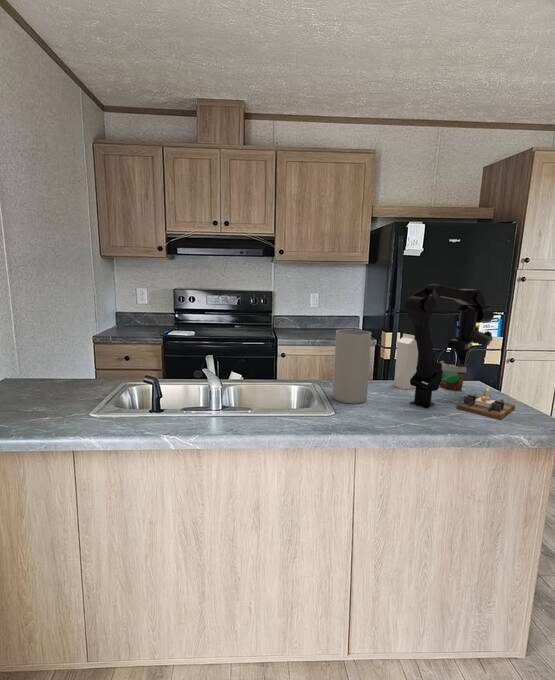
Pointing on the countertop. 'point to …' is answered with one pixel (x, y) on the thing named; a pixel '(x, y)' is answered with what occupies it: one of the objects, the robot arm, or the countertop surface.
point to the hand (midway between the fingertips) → (463, 364)
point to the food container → (452, 376)
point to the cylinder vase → (351, 365)
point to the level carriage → (485, 399)
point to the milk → (405, 361)
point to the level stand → (495, 411)
